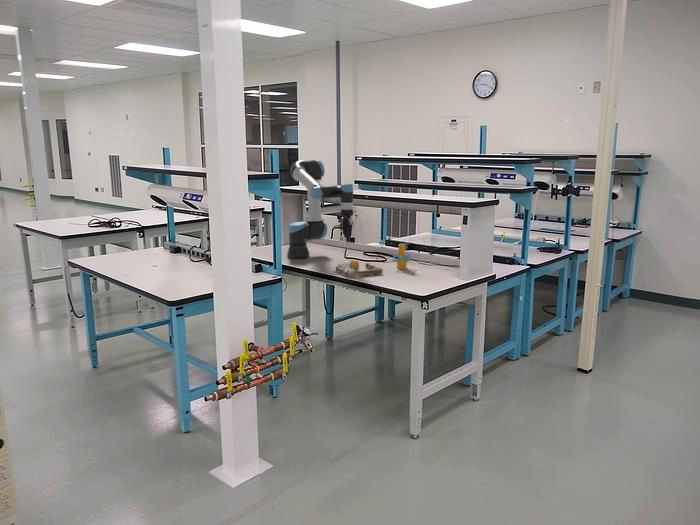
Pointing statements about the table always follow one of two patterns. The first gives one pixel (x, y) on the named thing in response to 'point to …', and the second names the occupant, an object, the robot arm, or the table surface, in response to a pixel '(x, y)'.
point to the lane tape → (346, 266)
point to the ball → (354, 265)
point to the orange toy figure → (401, 257)
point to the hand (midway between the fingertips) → (347, 246)
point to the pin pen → (370, 266)
